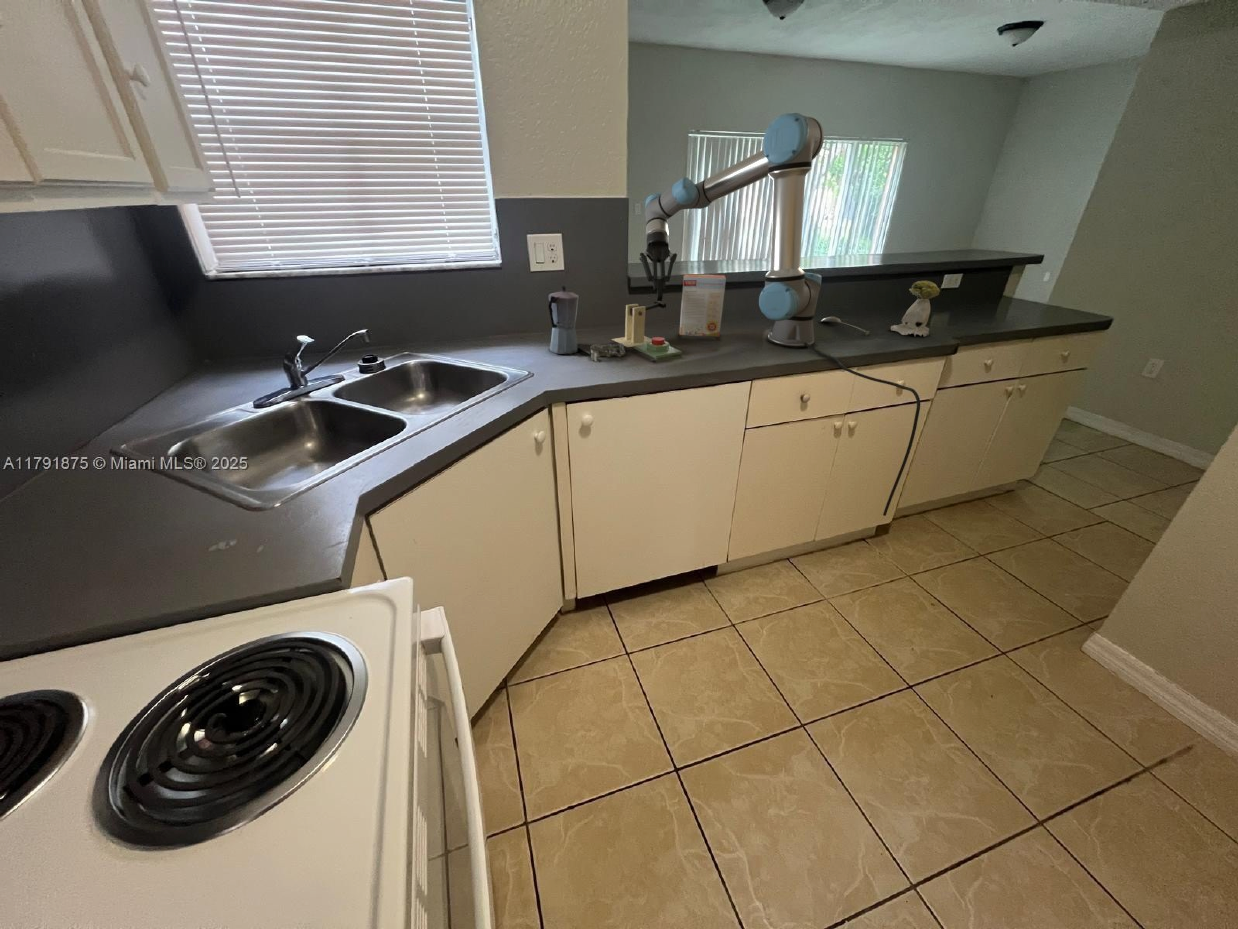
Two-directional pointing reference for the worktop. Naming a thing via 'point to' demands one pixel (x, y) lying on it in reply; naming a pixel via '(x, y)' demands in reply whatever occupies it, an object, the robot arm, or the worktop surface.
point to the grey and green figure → (918, 309)
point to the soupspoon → (843, 323)
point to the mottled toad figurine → (599, 351)
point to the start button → (658, 341)
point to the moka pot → (563, 321)
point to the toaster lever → (651, 306)
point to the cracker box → (702, 304)
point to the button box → (659, 351)
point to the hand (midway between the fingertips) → (659, 298)
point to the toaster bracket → (634, 327)
